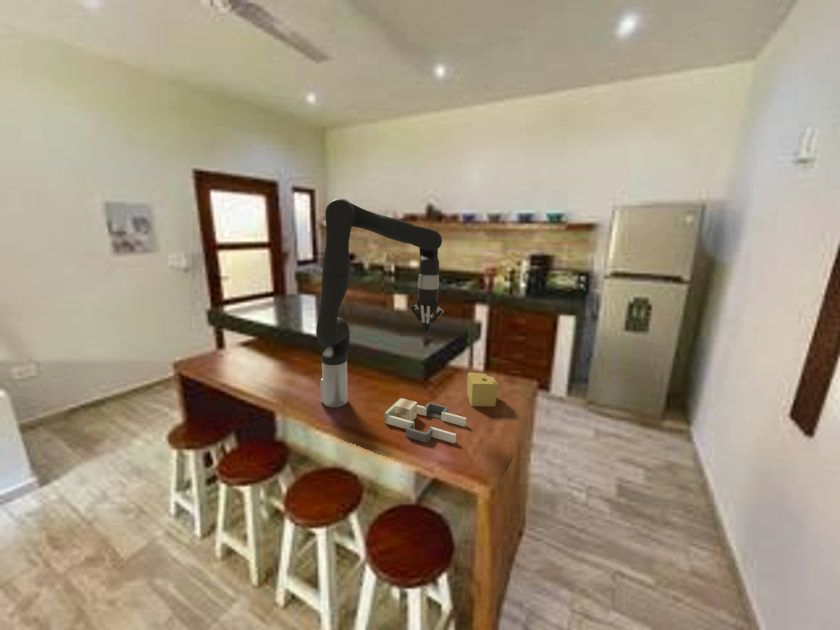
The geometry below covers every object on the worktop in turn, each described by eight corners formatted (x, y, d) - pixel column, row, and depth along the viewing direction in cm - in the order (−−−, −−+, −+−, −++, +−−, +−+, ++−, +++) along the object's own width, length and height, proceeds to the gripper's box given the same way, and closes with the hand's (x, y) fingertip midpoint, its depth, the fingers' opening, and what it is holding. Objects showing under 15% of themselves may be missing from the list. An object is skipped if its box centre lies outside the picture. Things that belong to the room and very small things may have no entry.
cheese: (490, 394, 153) (492, 372, 150) (496, 407, 142) (498, 384, 140) (465, 394, 152) (467, 372, 150) (469, 407, 142) (471, 383, 139)
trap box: (378, 428, 125) (379, 418, 124) (404, 402, 143) (405, 393, 142) (450, 450, 116) (451, 439, 114) (469, 419, 133) (469, 409, 132)
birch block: (394, 420, 131) (394, 405, 129) (401, 412, 136) (402, 398, 135) (409, 424, 129) (409, 409, 127) (416, 416, 134) (417, 402, 132)
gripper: (407, 286, 131) (405, 332, 136) (441, 290, 126) (439, 338, 131) (416, 282, 138) (414, 326, 142) (449, 286, 133) (446, 332, 137)
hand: (426, 332), depth 137 cm, fingers closed
